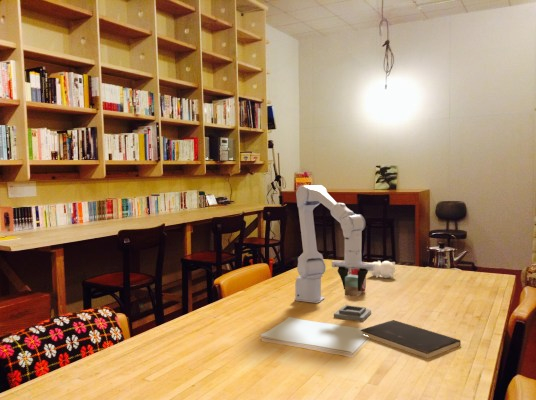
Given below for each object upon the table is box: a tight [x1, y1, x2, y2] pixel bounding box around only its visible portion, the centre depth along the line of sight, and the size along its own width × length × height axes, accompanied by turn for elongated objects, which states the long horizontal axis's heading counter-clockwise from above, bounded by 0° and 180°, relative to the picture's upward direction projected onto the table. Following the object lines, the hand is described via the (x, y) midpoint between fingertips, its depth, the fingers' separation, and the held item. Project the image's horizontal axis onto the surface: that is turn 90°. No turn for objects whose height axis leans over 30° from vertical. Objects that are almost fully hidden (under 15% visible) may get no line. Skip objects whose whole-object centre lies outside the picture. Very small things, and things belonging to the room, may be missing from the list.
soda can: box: [348, 261, 367, 294], centre depth 195 cm, size 7×7×12 cm
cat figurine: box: [368, 260, 396, 279], centre depth 222 cm, size 9×11×12 cm
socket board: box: [333, 304, 372, 322], centre depth 163 cm, size 10×10×2 cm
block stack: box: [344, 274, 362, 298], centre depth 163 cm, size 4×4×6 cm
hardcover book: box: [360, 319, 461, 359], centre depth 139 cm, size 16×23×2 cm
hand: (352, 289), depth 163 cm, fingers closed on block stack, 4 cm apart
